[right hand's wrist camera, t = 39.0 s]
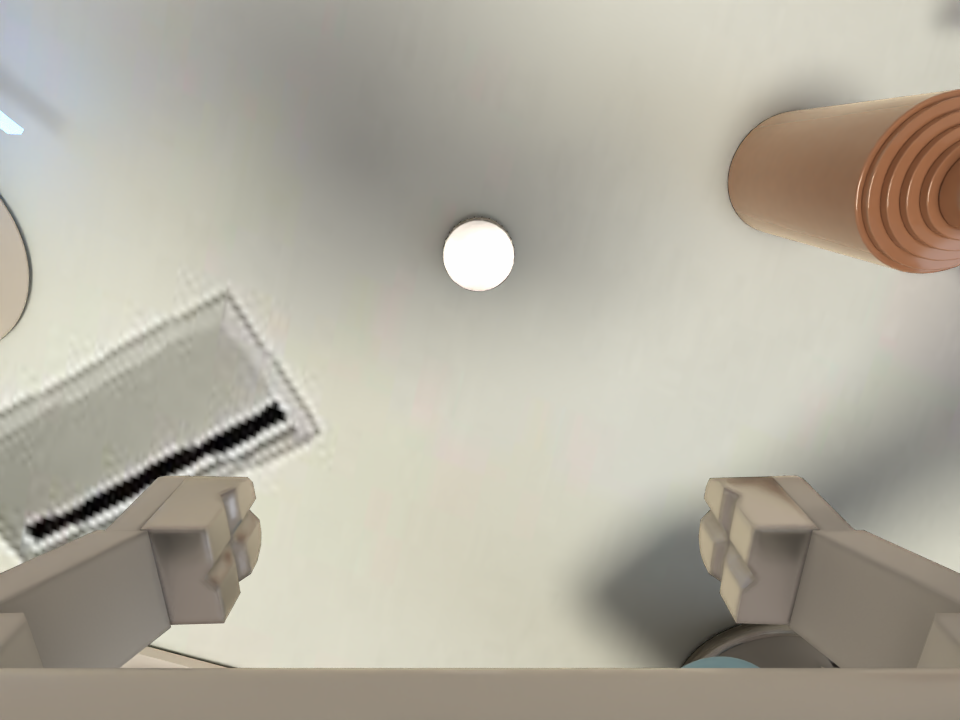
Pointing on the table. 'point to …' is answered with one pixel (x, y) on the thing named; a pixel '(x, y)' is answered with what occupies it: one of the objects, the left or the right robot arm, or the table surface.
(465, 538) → the table surface
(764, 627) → the left robot arm
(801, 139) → the bottle
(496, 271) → the cap
